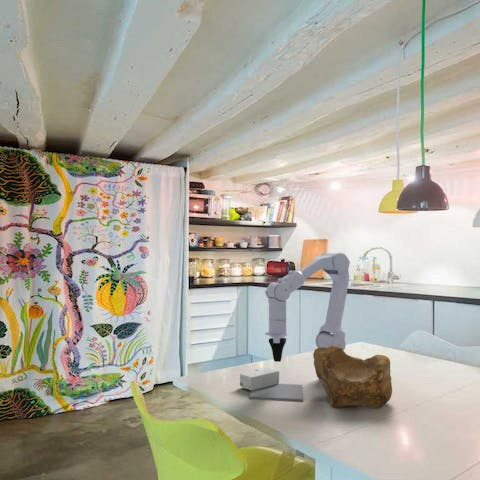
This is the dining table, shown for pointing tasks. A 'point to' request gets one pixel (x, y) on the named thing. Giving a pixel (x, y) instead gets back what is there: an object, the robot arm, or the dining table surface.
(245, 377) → the skincare box
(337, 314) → the robot arm
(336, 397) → the rough brown rock
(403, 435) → the dining table surface
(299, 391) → the rubber mat
